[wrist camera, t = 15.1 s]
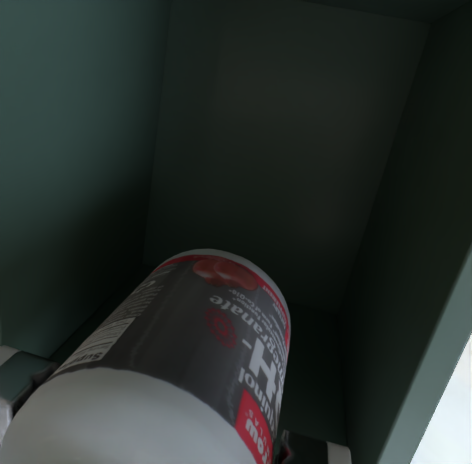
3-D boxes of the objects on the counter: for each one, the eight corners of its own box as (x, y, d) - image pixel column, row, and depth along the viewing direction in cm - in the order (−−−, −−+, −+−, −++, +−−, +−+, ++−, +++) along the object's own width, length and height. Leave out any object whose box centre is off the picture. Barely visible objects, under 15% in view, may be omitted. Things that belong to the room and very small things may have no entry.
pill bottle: (326, 322, 14) (330, 795, 4) (222, 404, 16) (77, 843, 6) (207, 210, 13) (-57, 479, 4) (115, 309, 15) (-199, 636, 6)
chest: (347, 322, 23) (374, 542, 12) (134, 266, 24) (-20, 415, 13) (452, 9, 17) (694, -133, 6) (166, -40, 18) (-59, -226, 7)
